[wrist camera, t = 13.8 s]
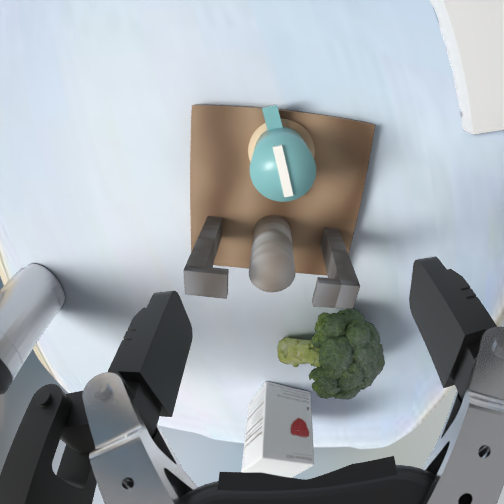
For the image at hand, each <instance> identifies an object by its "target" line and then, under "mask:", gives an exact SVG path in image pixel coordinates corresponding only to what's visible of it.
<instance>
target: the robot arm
mask: <svg viewBox="0 0 504 504" xmlns="http://www.w3.org/2000/svg"><path fill="white" fill-rule="evenodd" d="M64 301H65V295H64V291H63V289H62V286H61V285H60V283H59V281H58V280H57V279H56V277H55V276H54V275H53V274H52V273H51V272H50V271H49V270H47V269H46V268H44V267H43V266H41V265H38V264H29V265H27V266H26V267H25V268H24V269H20V270H19V271H18V272H17V273H16V274H15V275H14V276H13V277H12V278H11V279H10V280H9V281H8V282H7V283H6V284H5V286H4V287H3V288H2V289H1V290H0V394H3V393H5V392H6V391H7V390H8V388H9V386H10V385H11V383H12V381H13V379H14V378H15V376H16V374H17V373H18V371H19V370H20V368H21V366H22V365H23V363H24V361H25V360H26V358H27V357H28V355H29V354H30V352H31V350H32V349H33V347H34V346H35V344H36V343H37V341H38V340H39V338H40V337H41V335H42V334H43V332H44V331H45V330H46V328H47V327H48V325H49V324H50V322H51V321H52V320H53V318H54V317H55V315H56V314H57V313H58V311H59V310H60V308H61V307H62V306H63V304H64ZM409 302H410V309H411V313H412V315H413V317H414V320H415V322H416V324H417V326H418V328H419V330H420V333H421V335H422V337H423V339H424V342H425V344H426V346H427V349H428V351H429V353H430V356H431V358H432V360H433V363H434V365H435V368H436V370H437V373H438V375H439V378H440V380H441V383H442V385H443V388H446V387H449V386H452V385H455V386H456V388H457V390H458V391H457V393H456V395H455V397H454V401H453V403H452V406H451V409H450V412H449V414H448V417H447V419H446V422H445V425H444V427H443V429H442V432H441V434H440V436H439V439H438V441H437V443H436V445H435V447H434V449H433V451H432V453H431V454H430V456H429V458H428V459H427V462H426V463H425V465H424V467H423V469H420V468H415V467H412V466H404V465H395V460H394V456H392V457H387V458H382V459H378V460H373V461H368V462H363V463H356V464H351V465H349V466H346V467H344V468H341V469H339V470H336V471H333V472H330V473H327V474H324V475H322V476H318V477H316V478H312V479H308V480H302V479H295V478H289V477H283V476H278V475H272V474H267V473H262V472H252V473H246V472H239V473H238V472H220V475H219V481H217V482H212V483H209V484H205V485H203V486H201V487H197V486H196V485H195V483H194V482H193V481H192V479H191V478H190V477H189V476H188V475H187V473H186V472H185V471H184V469H183V468H182V466H181V465H180V463H179V461H178V460H177V458H176V456H175V454H174V453H173V451H172V449H171V447H170V446H169V444H168V442H167V440H166V438H165V436H164V435H163V433H162V431H161V429H160V427H159V426H158V424H157V423H158V419H159V416H165V417H172V414H173V410H174V407H175V403H176V399H177V395H178V391H179V387H180V383H181V379H182V376H183V372H184V368H185V364H186V361H187V357H188V353H189V350H190V346H191V342H192V327H191V323H190V321H189V318H188V316H187V314H186V311H185V309H184V306H183V304H182V301H181V299H180V296H179V294H178V293H177V292H176V291H169V292H159V293H154V294H153V296H152V298H151V300H150V302H149V304H148V306H147V308H143V309H142V310H141V311H140V312H139V313H138V314H137V315H136V316H135V317H134V318H133V320H132V322H131V324H130V326H129V328H128V331H127V332H126V334H125V336H124V340H122V342H121V344H120V346H119V348H118V351H117V353H116V355H115V357H114V359H113V361H112V363H111V366H110V368H109V370H108V372H107V373H102V374H99V375H97V376H95V377H94V378H92V379H91V380H90V381H89V382H88V383H87V385H86V386H85V388H84V390H83V391H79V392H74V393H69V394H65V393H64V392H63V391H62V389H61V388H60V387H59V386H57V385H55V384H49V385H45V386H43V387H42V388H40V389H39V390H38V391H37V392H36V393H35V394H34V396H33V398H32V400H31V402H30V404H29V406H28V408H27V410H26V413H25V415H24V417H23V419H22V422H21V424H20V426H19V428H18V431H17V434H16V436H15V438H14V440H13V443H12V445H11V448H10V451H9V453H8V456H7V458H6V461H5V464H4V467H3V469H2V472H1V475H0V504H92V501H93V497H94V492H95V488H96V484H98V487H99V490H100V492H101V495H102V498H103V500H104V503H105V504H497V502H498V499H499V496H500V494H501V491H502V488H503V486H504V327H497V326H496V324H495V323H494V321H493V319H492V318H491V316H490V315H489V313H488V312H487V310H486V309H485V307H484V306H483V305H482V303H481V302H480V300H479V299H478V297H476V295H475V293H474V292H473V290H472V289H470V286H469V285H468V283H467V282H466V281H465V279H464V278H463V277H462V276H461V275H459V274H458V273H456V272H455V271H453V270H452V269H448V270H447V269H446V268H445V267H444V265H443V264H442V263H441V261H440V260H439V259H438V258H437V257H430V258H424V259H418V260H415V262H414V265H413V273H412V282H411V290H410V297H409ZM60 439H61V440H62V441H63V442H65V443H66V447H65V450H64V453H63V456H62V459H61V463H60V466H59V469H58V472H57V475H55V474H54V472H53V470H52V461H53V458H54V455H55V452H56V449H57V446H58V443H59V440H60Z"/></svg>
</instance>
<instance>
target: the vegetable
mask: <svg viewBox="0 0 504 504" xmlns="http://www.w3.org/2000/svg"><path fill="white" fill-rule="evenodd" d="M315 331H316V333H315V335H314V336H313V337H312V340H302V339H294V338H288V337H284V338H283V339H282V340H281V341H279V344H278V347H277V349H278V357H279V360H280V362H282V363H285V364H292V365H293V366H294V367H297V366H299V364H306V363H310V364H311V366H312V365H313V366H315V367H317V368H314V369H313V370H312V371H311V372H310V374H309V380H311V379H312V378H313V380H314V381H315V380H316V381H315V382H314V383H313V384H312V388H313V390H314V391H316V392H317V395H318V396H319V397H321V398H325V399H327V398H330V397H335V398H339V399H351V398H353V397H355V396H356V394H357V393H358V392H359V391H360V389H365V388H366V387H368V386H371V384H372V382H373V380H374V379H375V378H376V376H377V375H378V374H380V372H381V371H382V369H383V366H384V364H385V361H384V355H383V348H382V345H381V344H380V336H379V333H378V331H377V330H376V328H375V327H374V325H373V324H371V323H369V322H366V321H365V318H364V317H363V315H362V314H360V312H359V311H357V310H355V309H348V308H347V309H345V310H344V311H339V312H338V313H332V314H328V313H322V314H320V315H319V316H318V322H317V323H316V326H315Z"/></svg>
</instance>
